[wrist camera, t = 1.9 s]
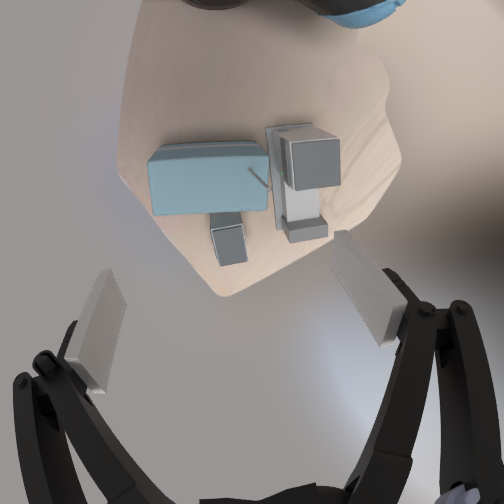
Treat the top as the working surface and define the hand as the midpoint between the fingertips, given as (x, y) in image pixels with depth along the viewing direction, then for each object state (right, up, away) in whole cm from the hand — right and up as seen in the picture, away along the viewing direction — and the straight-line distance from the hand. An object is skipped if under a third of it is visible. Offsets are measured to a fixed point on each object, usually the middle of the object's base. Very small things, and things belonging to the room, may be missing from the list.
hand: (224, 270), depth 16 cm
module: (-3, +6, +37) cm, 37 cm away
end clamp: (+10, +8, +38) cm, 40 cm away
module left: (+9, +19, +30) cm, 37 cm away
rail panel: (+9, +14, +33) cm, 37 cm away
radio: (-6, +16, +31) cm, 35 cm away
